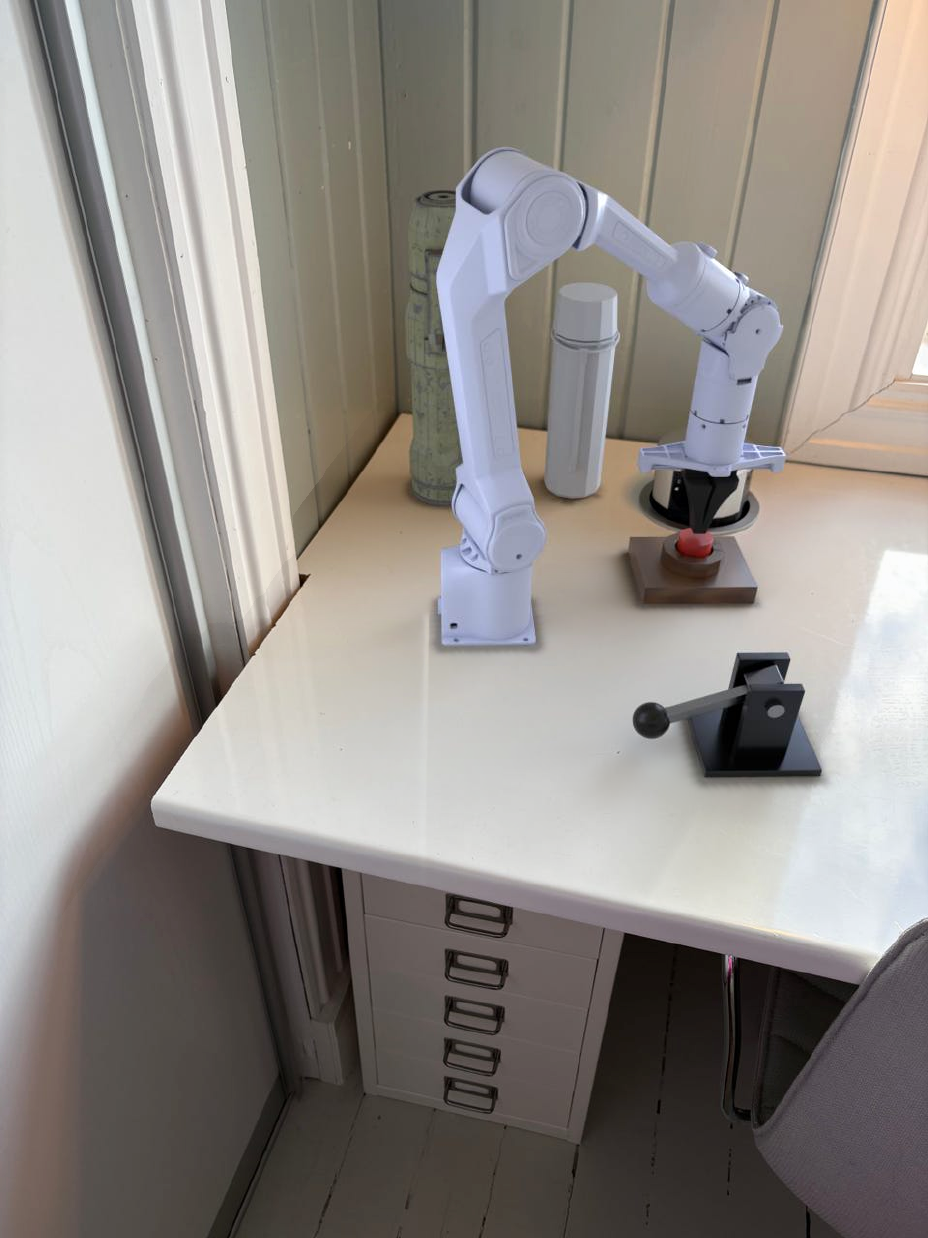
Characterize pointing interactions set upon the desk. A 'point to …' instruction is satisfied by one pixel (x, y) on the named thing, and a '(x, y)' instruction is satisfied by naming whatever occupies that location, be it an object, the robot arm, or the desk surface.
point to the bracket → (756, 728)
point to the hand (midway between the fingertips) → (697, 528)
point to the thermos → (430, 355)
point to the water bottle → (580, 388)
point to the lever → (697, 704)
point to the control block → (690, 572)
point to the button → (694, 544)
